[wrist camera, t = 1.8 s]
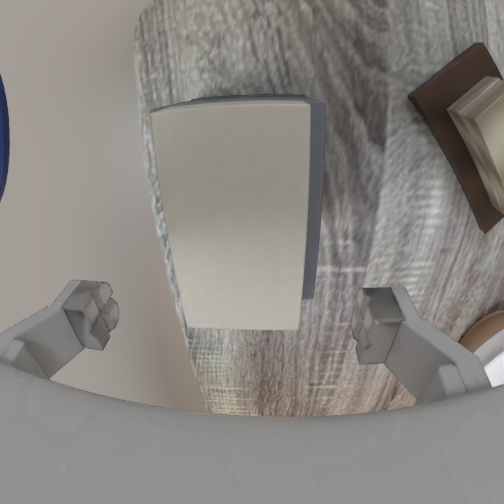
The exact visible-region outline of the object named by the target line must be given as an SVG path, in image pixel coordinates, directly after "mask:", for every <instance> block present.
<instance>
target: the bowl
mask: <svg viewBox="0 0 504 504" xmlns="http://www.w3.org/2000/svg"><path fill="white" fill-rule="evenodd" d="M459 344H461V345H462V346H464V347H465V348H466V349H468V350H469V351H470V352H472V353H473V354H475V355H476V356H477V357H479V359H480V361H481V363H482V365H483V368H484V370H485V372H486V374H487V376H488V378H489V381H490V383H491V385H492V387H495V386H498V385H501V384H504V310H499V311H495V312H493V313H491V314H488V315H487V316H485V317H484V318H482V319H481V320H479V321H478V322H477V323H476V324H474V325H473V326H472V327H471V328H470V329H469V330H468V331H467V332H466V334H465V335H464V336H463V338H462V339H461V341H460V342H459Z"/></svg>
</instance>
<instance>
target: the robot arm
mask: <svg viewBox="0 0 504 504" xmlns="http://www.w3.org/2000/svg"><path fill="white" fill-rule="evenodd" d="M112 293H113V291H112V289H111V286H110V284H108V283H106V282H97V281H87V280H72V281H70V282H69V283H68V284H67V286H66V287H65V288H64V290H63V291H62V292H61V293H60V294H59V296H58V297H57V298H56V299H55V301H54V302H53V303H52V304H51V306H50V307H48V306H47V307H45V308H43V309H41V310H40V311H38V312H36V313H34V314H33V315H31V316H29V317H28V318H26V319H24V320H22V321H21V322H19V323H17V324H16V325H14V326H12V327H10V328H9V329H7V330H6V331H4V332H2V333H1V334H0V504H504V384H501V385H498V386H495V387H492V385H491V383H490V381H489V378H488V376H487V374H486V372H485V370H484V368H483V365H482V363H481V361H480V359H479V357H477V356H476V355H475V354H473V353H472V352H470V351H469V350H468V349H466V348H465V347H464V346H462V345H461V344H459V343H458V342H457V341H455V340H454V339H452V338H451V337H450V336H448V335H447V334H445V333H444V332H443V331H441V330H440V329H438V328H437V327H436V326H434V325H433V324H431V323H430V322H428V321H427V320H426V319H425V320H421V318H420V316H419V314H418V312H417V309H416V307H415V305H414V303H413V301H412V300H411V298H410V296H409V294H408V292H407V290H406V288H405V287H404V286H392V287H377V288H359V289H358V291H357V295H356V301H357V306H356V307H355V308H354V309H353V313H352V321H351V328H352V335H353V338H354V339H355V340H356V341H358V342H357V345H356V352H357V357H358V361H359V364H380V363H385V364H384V365H385V366H386V367H387V368H388V369H389V370H390V371H391V372H392V373H393V374H394V375H395V376H396V378H397V379H398V380H399V381H400V382H401V383H402V384H403V385H404V386H405V387H406V388H407V390H408V391H409V392H410V393H411V394H412V395H413V396H414V397H415V398H416V399H417V402H416V403H415V404H414V406H411V407H405V408H399V409H392V410H385V411H377V412H368V413H358V414H346V415H332V416H310V417H260V416H238V415H224V414H212V413H202V412H193V411H185V410H178V409H170V408H164V407H158V406H151V405H146V404H141V403H135V402H131V401H126V400H121V399H117V398H112V397H108V396H104V395H100V394H96V393H92V392H88V391H84V390H80V389H77V388H74V387H70V386H67V385H64V384H60V383H57V382H54V381H51V380H50V377H52V376H53V375H54V374H55V373H56V372H57V371H58V370H60V369H61V368H62V367H63V366H64V365H66V364H67V363H68V362H69V361H70V360H72V359H73V358H74V357H75V356H76V355H77V354H79V353H80V352H81V351H82V350H83V349H84V348H88V349H94V350H101V351H103V350H104V348H105V346H106V344H107V342H108V340H109V339H110V334H109V332H110V331H111V330H113V329H114V328H115V327H116V325H117V323H118V319H119V308H118V305H117V302H116V301H115V300H114V299H113V298H112V297H111V296H112Z"/></svg>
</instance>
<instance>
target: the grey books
mask: <svg viewBox="0 0 504 504" xmlns="http://www.w3.org/2000/svg"><path fill="white" fill-rule="evenodd" d="M263 100H292V101H304V102H306V103H308V104H310V106H311V122H310V172H309V198H308V219H307V237H306V253H305V267H304V280H303V292H302V299H313V298H314V290H315V281H316V271H317V261H318V250H319V239H320V227H321V213H322V198H323V181H324V160H325V130H326V102H324V101H321V100H318V99H313V98H310V97H307V96H305V95H291V94H264V95H235V96H218V97H206V98H197V99H193V100H190V101H187V102H180V103H176V104H172V105H167V106H163V107H159V108H156V109H152V110H151V111H150V113H152V112H155V111H159V110H162V109H166V108H169V107H175V106H184V105H194V104H204V103H217V102H234V101H263Z"/></svg>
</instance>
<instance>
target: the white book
mask: <svg viewBox="0 0 504 504" xmlns="http://www.w3.org/2000/svg"><path fill="white" fill-rule="evenodd" d="M150 117H151V126H152V135H153V143H154V151H155V159H156V166H157V173H158V180H159V187H160V193H161V200H162V206H163V212H164V218H165V223H166V229H167V234H168V240H169V245H170V250H171V255H172V260H173V265H174V270H175V274H176V279H177V284H178V288H179V293H180V297H181V302H182V306H183V310H184V314H185V318H186V323H187V326H188V327H193V328H213V329H241V330H298V329H299V325H300V315H301V304H302V292H303V280H304V267H305V253H306V237H307V219H308V198H309V172H310V122H311V106H310V104H308V103H306V102H304V101H292V100H263V101H234V102H217V103H204V104H194V105H184V106H175V107H169V108H166V109H162V110H159V111H155V112H152V113H151V114H150Z"/></svg>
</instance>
